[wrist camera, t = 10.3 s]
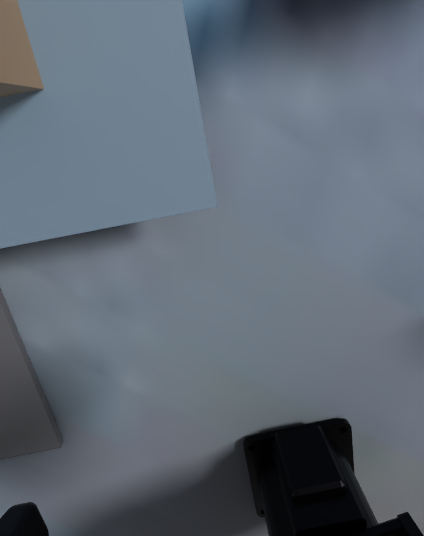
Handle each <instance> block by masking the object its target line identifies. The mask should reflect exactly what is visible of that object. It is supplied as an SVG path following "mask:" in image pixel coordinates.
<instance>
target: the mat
mask: <svg viewBox="0 0 424 536" xmlns="http://www.w3.org/2000/svg"><path fill="white" fill-rule="evenodd" d="M62 443H63V439H62V437H61V434H60V432H59V429H58V427H57V425H56V422H55V420H54V417H53V415H52V412H51V410H50V408H49V405H48V403H47V400H46V398H45V396H44V393H43V391H42V388H41V386H40V383H39V381H38V379H37V376H36V374H35V371H34V369H33V367H32V364H31V362H30V359H29V357H28V354H27V352H26V350H25V347H24V345H23V342H22V340H21V337H20V335H19V333H18V330H17V328H16V325H15V323H14V321H13V318H12V316H11V313H10V311H9V308H8V306H7V304H6V301H5V299H4V296H3V294H2V292H1V289H0V459H5V458H10V457H15V456H20V455H25V454H30V453H35V452H40V451H45V450H50V449H55V448H60V447H61V445H62Z"/></svg>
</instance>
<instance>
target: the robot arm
mask: <svg viewBox="0 0 424 536" xmlns="http://www.w3.org/2000/svg"><path fill="white" fill-rule="evenodd" d="M341 427H343V428H341ZM243 445H244V450H245V455H246V460H247V465H248V470H249V475H250V480H251V485H252V491H253V496H254V501H255V506H256V511H257V514H258V515H259V516H260V517H265V520H266V525H267V529H268V534H269V536H423V534H422V533H421V531H420V530H419V528H418V527H417V525H416V524H415V522H414V521H413V519H412V518H411V516H410V515H409V513H408V512H405V513H402V514H399V515H397V518H395V519H392V520H389V521H386V522H383V523H380V524H378V522H377V520H376V518H375V516H374V514H373V512H372V510H371V508H370V506H369V504H368V502H367V500H366V497H365V495H364V493H363V491H362V489H361V487H360V485H359V483H358V481H357V479H356V477H355V475H354V461H353V446H352V430H351V426H350V424H349V422H348V421H347V420H346V419H336V420H331V421H326V422H321V423H316V424H311V425H306V426H301V427H296V428H290V429H285V430H280V431H275V432H270V433H265V434H260V435H255V436H250V437H248V438H246V439H245V440H244V443H243ZM250 445H253V446H250ZM0 536H49V533H48V529H47V526H46V524H45V522H44V520H43V518H42V516H41V514H40V512H39V510H38V508H37V506H36V504H34V503H33V502H28V503H23V504H18V505H14V506H12V507H11V508H10V509H8V510H7V512H6V513H5V514H4V515H3V516H2V517H1V518H0Z"/></svg>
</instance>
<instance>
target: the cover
mask: <svg viewBox="0 0 424 536" xmlns="http://www.w3.org/2000/svg"><path fill="white" fill-rule="evenodd" d="M214 207H218V206H217V200H216V194H215V188H214V183H213V177H212V171H211V165H210V160H209V154H208V148H207V142H206V136H205V131H204V125H203V119H202V113H201V108H200V102H199V96H198V90H197V85H196V79H195V73H194V67H193V62H192V56H191V50H190V44H189V39H188V33H187V27H186V21H185V16H184V10H183V4H182V0H0V248H6V247H11V246H16V245H21V244H26V243H32V242H37V241H42V240H47V239H52V238H58V237H63V236H68V235H73V234H78V233H84V232H89V231H94V230H99V229H104V228H110V227H115V226H120V225H125V224H131V223H136V222H141V221H146V220H151V219H157V218H162V217H167V216H172V215H177V214H183V213H188V212H193V211H198V210H203V209H209V208H214Z"/></svg>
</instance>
